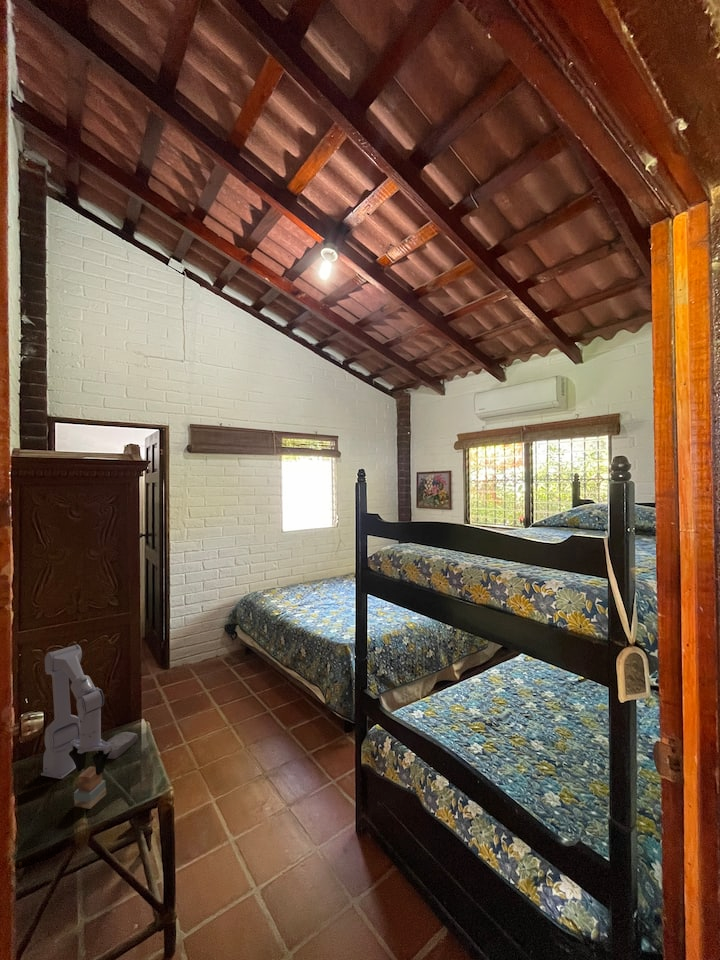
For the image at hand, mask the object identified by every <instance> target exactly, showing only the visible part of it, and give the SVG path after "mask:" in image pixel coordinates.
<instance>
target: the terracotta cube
mask: <svg viewBox="0 0 720 960" xmlns="http://www.w3.org/2000/svg"><path fill="white" fill-rule="evenodd" d="M77 777H78V789H79V790H81V791H88V792H91V791H92V790H93V789H94V788H95V787H96V786H97V785H99V784H100V783H101V782H102V780H103V772H102V773H101V774H100V775H96V768H95V766H89V767H88V768H87V769H85V770H84V771H82V772H81V774H79V775H78V776H77Z"/></svg>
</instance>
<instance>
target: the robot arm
mask: <svg viewBox="0 0 720 960" xmlns="http://www.w3.org/2000/svg"><path fill="white" fill-rule="evenodd" d="M82 656H83V651H82V648H81V646H80V645H79V644H77V643H76V644H73V645H71V646H68V647H64V648H62V649H58V650H55V651H54V650H53V651H50V652H47V653H46V655H45V657H44V671H45V675H51V678H52V679H51V681H52V682H51V683H52V695H53V696H52V697H53V714H54V717H53V718H54V719H53V720H52V722H50V723H49V725H47V727H46V728H45V732H44V733H45V734H44V746H45V751H44V753H43V757H42V758H43V762H42V763H43V766H42V769H43V772H41V773H40V775H41V776H43V777H49V778H54V779H59V780H61V779H64V778H65V777H66V776H68V775H69V774H71V772H73V771H75V769H76V771H77V772H78V773H80V772H81V771H83V769H85V767H86V763H87V762H86V759H87V752H98V753H95V754H94V755H92V757H91V758H92V761H93V762H94V767H95V768H96V775H100V774H101V773H102V774H103V772H104V770H105V767H106V763H107V759H109V758H108V756H109V754H110V752H111V750H112V748H111V744H108V743H107V741H105V739H104V740H103V739H102V735H101V734H102V729H101V728H102V726H101V725H102V720H101V719H102V716H101V715H102V710H101V709H102V708H101V707H103V706H104V705H105V696H104V693H103V690H102V689H101V688H99V687H98V686H97V687H96V686H95V685H94V683H93V680H92V678H91V677H90V676H89V675H87V674H86V675H85V674H84V671H83V669H82V666H81V660H82ZM69 680H70V681H71V684H70V681H69ZM70 690H71V692H72V693H73V696H74V698H75V701H76V710H77V715H74V714H72V712H71V711H72V708H71V697H70V695H71V694H70Z"/></svg>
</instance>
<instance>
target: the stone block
mask: <svg viewBox="0 0 720 960" xmlns="http://www.w3.org/2000/svg"><path fill="white" fill-rule="evenodd" d="M138 738H139V736H138V734H137V733H135V732H131V731H124V732H122V731H121V732H119V733H116V734H115V735H114V736H112V737H111V738H109V739H108V740H107V741H106V742H107V743H108V744H111V748H112V750H111V752H110V754H109V756H108V758H107V759H110V760H116V759H119V757H120V756H121V755H122V754H124V753H125V752H126V751H127V750H129V749H130V748H131V747H132V746H133V745H134V744H136V743H137V741H138V740H139V739H138ZM96 752H97V753H98V751H96ZM97 753H96V754H97Z"/></svg>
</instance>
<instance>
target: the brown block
mask: <svg viewBox="0 0 720 960" xmlns="http://www.w3.org/2000/svg"><path fill="white" fill-rule="evenodd" d="M106 795H107V788H106V787H105V789H104V790H103V791H102V792H101V793H100V794H99V795H98V796H96V797H95V798H94V799H93V800H92V801H91V802H84V801H75V800H74V807H78V808H84V809H89V810H91V809H92V808H93V807H94V806H95V805H97V803H99V802H100V801H101V800H102V799H103V798H104V797H105V796H106Z"/></svg>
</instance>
